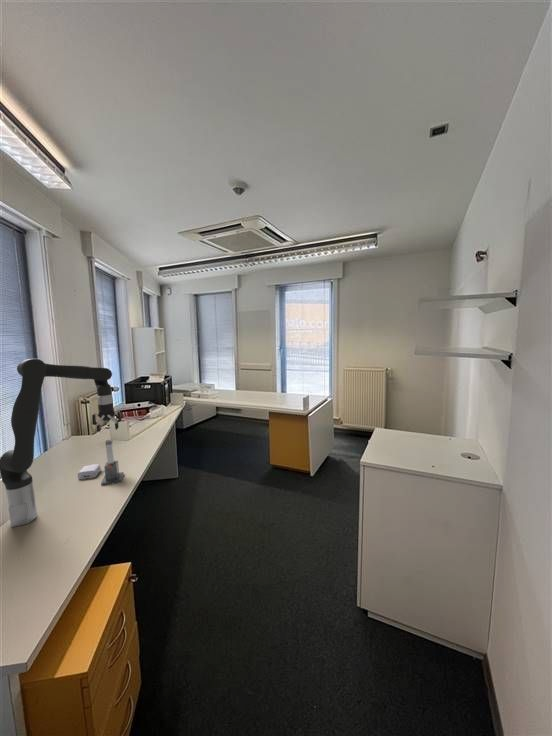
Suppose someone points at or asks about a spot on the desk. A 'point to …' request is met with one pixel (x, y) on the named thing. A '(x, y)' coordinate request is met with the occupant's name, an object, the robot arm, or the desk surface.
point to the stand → (112, 474)
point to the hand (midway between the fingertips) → (108, 430)
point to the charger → (89, 471)
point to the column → (110, 452)
